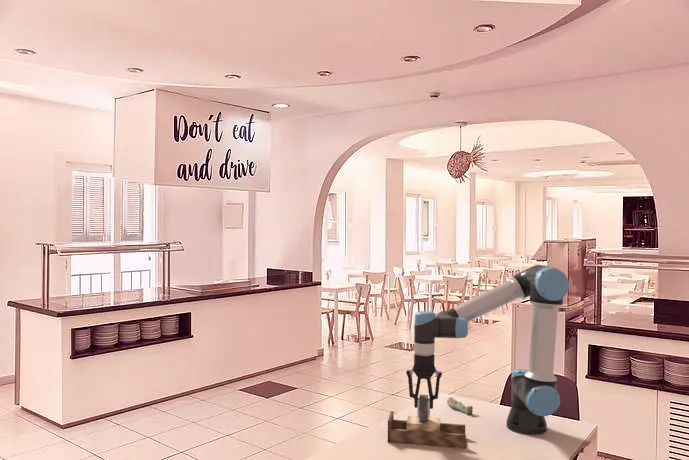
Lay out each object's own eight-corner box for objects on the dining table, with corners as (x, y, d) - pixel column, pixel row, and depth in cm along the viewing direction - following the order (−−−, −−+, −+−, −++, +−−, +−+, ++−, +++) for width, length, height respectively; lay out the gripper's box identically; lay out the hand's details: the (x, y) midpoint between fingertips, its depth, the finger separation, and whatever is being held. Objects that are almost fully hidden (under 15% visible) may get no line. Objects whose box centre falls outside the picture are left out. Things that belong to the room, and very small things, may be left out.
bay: (465, 437, 210) (465, 416, 210) (465, 448, 199) (466, 426, 199) (390, 431, 215) (391, 410, 215) (387, 442, 204) (387, 420, 204)
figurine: (461, 416, 234) (461, 407, 234) (444, 405, 249) (444, 396, 249) (473, 415, 236) (473, 406, 236) (455, 404, 250) (455, 395, 250)
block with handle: (440, 433, 210) (440, 394, 210) (439, 442, 202) (440, 400, 202) (407, 431, 213) (408, 392, 213) (406, 439, 204) (406, 398, 204)
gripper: (446, 352, 209) (445, 415, 209) (403, 350, 212) (402, 411, 213) (446, 356, 202) (445, 421, 202) (401, 354, 205) (400, 418, 205)
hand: (423, 416), depth 207 cm, fingers closed on block with handle, 3 cm apart
